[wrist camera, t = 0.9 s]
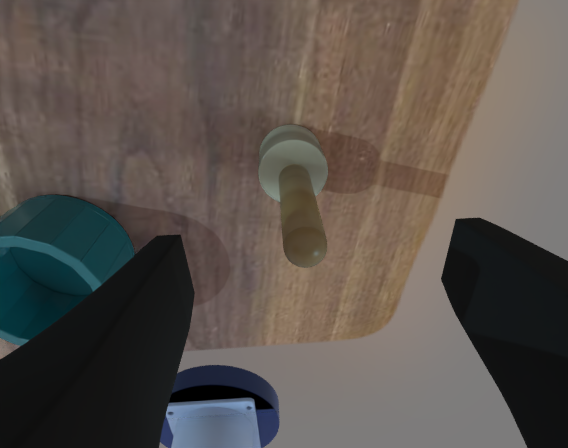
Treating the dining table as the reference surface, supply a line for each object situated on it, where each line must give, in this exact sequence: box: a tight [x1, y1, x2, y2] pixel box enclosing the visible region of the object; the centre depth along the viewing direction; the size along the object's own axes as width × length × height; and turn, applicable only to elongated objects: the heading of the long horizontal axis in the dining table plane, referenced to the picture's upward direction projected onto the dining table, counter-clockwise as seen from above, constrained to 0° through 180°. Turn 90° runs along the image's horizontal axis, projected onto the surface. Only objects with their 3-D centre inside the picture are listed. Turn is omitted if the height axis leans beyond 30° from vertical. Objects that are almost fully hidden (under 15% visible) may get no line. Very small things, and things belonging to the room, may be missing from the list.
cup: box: [0, 195, 135, 346], centre depth 19 cm, size 7×7×4 cm
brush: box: [259, 125, 328, 268], centre depth 15 cm, size 3×3×9 cm
